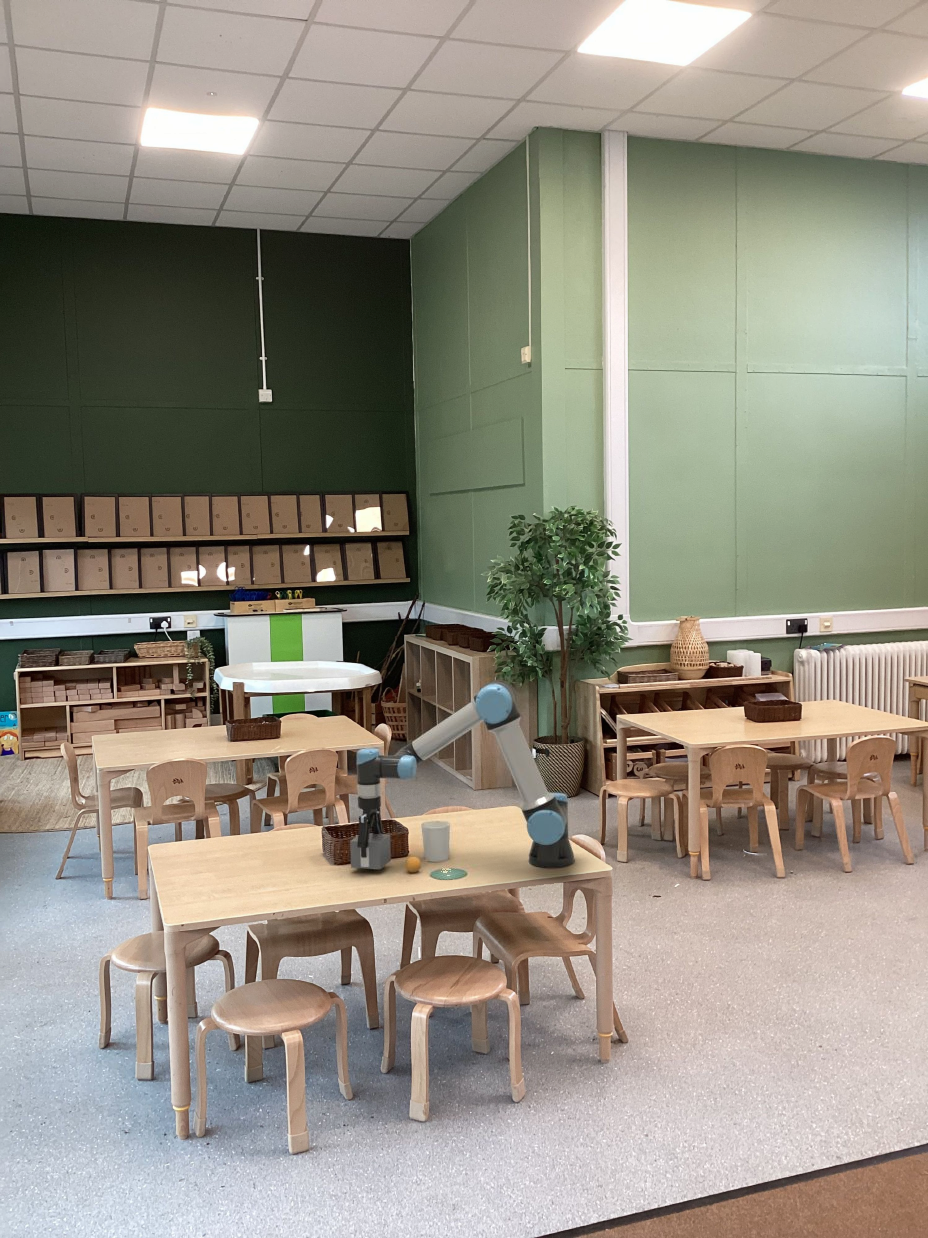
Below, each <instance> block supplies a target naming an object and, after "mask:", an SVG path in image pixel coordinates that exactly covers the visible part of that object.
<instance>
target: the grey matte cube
mask: <svg viewBox="0 0 928 1238" xmlns="http://www.w3.org/2000/svg"><path fill="white" fill-rule="evenodd" d="M357 843H358V835H357V836H355V837H353V838H352V839H351V840H349V849H350V868H351V869H352V868H353V869H369V870H382V869H383V867H385V866H386V865H387V864H389V863H390V862H392V861H391V860H392V855H391V834H389V833H388V834H387V833H386V834H385V833H383V834H373V833H371V832H370V835H369V841H368V847H369V867H361V853H360V847H357Z"/></svg>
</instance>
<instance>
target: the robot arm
mask: <svg viewBox="0 0 928 1238" xmlns="http://www.w3.org/2000/svg"><path fill="white" fill-rule="evenodd" d="M516 703H517V693H516V690H515V688H514V686H513V685H511V683H509V682H508V681H505V680H502V679H501V680H493V681H491V682H489V683H487V684H486V685H485V686H483V687H482V688H481V689H480V691H478V693H477V694H476V695H474V696H473V697H472V701H471V702H469V703H468V704H466V705H464V706H463V707H462V708H460V709H459V710H457V711H456V712H455V713H453V714H451V715H449V717H447V718H445V719H443V721H441V722H439V723H438V724H437V725H435V726H434V727H432V728H430V730H428V731H426V732H425V733H423V734H422V735H420V736H419V737H418V738H416V739H415V740H413V741H411V742H410V743H409V744H407V745H406V746H403V747H402V748H400V749H399V750H398V751H397V752H396V753H395V754H393V755H382V754H381V753H380V750H379V749H378V748H372V747H370V748H369V747H367V748H362V749H359V750H358V751H357V753H356V776H357V777H356V778H357V779H356V781H357V785H356V789H357V795H358V797H357V806H358V809H360V810H362V815H360V816H358V829H357V830H358V831H357V836H358V843H357V847H360V853H361V867H369V847H368V841H369V835H370V833H371V832H372V833H371V834H384V829H383V822H382V815H381V806H382V801H381V800H382V799H381V798H382V797H381V796H380V795H381V794H382V792H381V790H382V789H381V779H394V780H395V779H402V780H406V779H407V780H408V779H414V778H415V777H416V775H417V774H416V773H417V769H418V768H417V766H418V765H420V764H421V763H423V762H424V761H425V760H427V759H429V758H430V757H433V755H435V754H437V753H438V752H439V751H441V750H442V749H444V748H446V747H447V746H448V745H450V744H451V743H453V742H454V741H456V740H457V739H458V738H460V737H462V736H463V735H466V733H468V732H469V731H471V730H473V729H474V728H475V727H477V726H479V725H480V724H481V723H484V725H485V727H486V729H487V732H490V733H492V734H494V736H495V739H496V741H497V743H498V746H499V747H500V750H501V753H502V755H503V758H504V761H505V762H506V765H507V767H508V769H509V772H510V774H511V776H512V780H513V782H514V783H515V785H516V787H517V791H518V793H519V796H520V798H521V800H522V805H521V808H520V809H521V811H522V812H521V813H522V814H523V817H524V820H525V822H526V829H527V833H528V836H529V837H530V838H531V840H532V843H531V847H530V850H529V853H528V862H529V864H531V865H532V866H535V867H541V868H547V869H551V868H552V869H553V868H563V867H567V866H571V865H572V864H574V862H575V854H574V850H573V847H572V844H571V842H570V839H569V808H568V807H569V801H568V800H569V799H568V796H567V794H566V793H563V792H549V791H548V788H547V786H546V784H545V782H544V779H543V778H542V774H541V772H540V770H539V767H538V765H537V763H536V760H535V758H534V756H533V754H532V751H531V749H530V746H529V744H528V742H527V740H526V737H525V735H524V732H523V730H522V728H521V726H520V721H521V718H522V716H521V713H520V711H519V709H518V706H517V704H516Z"/></svg>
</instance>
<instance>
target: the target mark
mask: <svg viewBox="0 0 928 1238" xmlns="http://www.w3.org/2000/svg"><path fill="white" fill-rule="evenodd" d="M448 868H449V869H451V870H446V869H445V870H446V871H448V872H447V873H443V871H445V870H442V869H443V868H438V869H435V870H433V871H431V872H430V873H429V876H430V878H433V879H436V880H441V881H442V880H443V881H452V880H453V879H454V880H458V879H463V878H465V877H467V875H468V871H466V870H464V869H462V868H455V867H448ZM441 871H442V872H441ZM450 871H451V872H450ZM447 875H450V876H447Z"/></svg>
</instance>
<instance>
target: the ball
mask: <svg viewBox="0 0 928 1238" xmlns="http://www.w3.org/2000/svg"><path fill="white" fill-rule="evenodd" d="M421 866H422V863H421V860H420V859H419V858H418V857H416V856H410V857H409V858H408V859H406V862H405V869H406V870H407V871H408V872H410V873H417V872H418V871H419V870H420V869H421Z"/></svg>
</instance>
